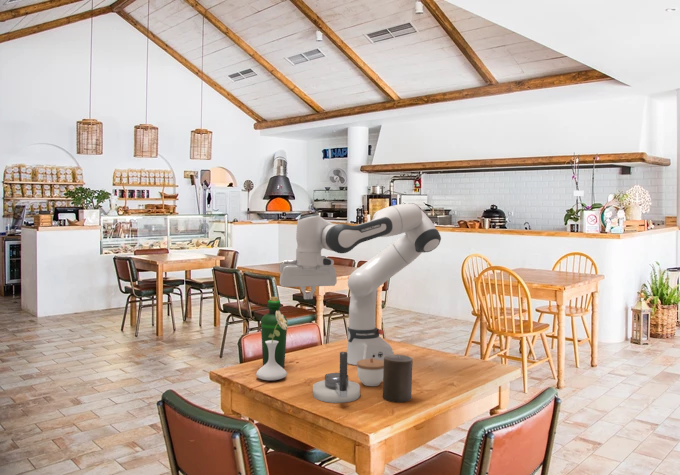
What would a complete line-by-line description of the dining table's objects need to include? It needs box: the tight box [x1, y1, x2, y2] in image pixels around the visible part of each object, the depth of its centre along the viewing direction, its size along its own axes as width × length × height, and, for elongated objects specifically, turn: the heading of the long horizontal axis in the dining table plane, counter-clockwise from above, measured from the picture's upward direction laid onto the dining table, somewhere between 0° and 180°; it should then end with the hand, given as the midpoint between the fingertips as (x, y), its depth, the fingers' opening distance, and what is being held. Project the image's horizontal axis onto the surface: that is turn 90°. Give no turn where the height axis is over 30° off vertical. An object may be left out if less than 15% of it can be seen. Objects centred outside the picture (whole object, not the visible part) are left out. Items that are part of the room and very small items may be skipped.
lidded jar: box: [356, 358, 384, 387], centre depth 210 cm, size 11×11×9 cm
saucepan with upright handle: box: [324, 351, 349, 397], centre depth 192 cm, size 17×8×14 cm, turn 10°
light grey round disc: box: [312, 379, 361, 404], centre depth 197 cm, size 16×16×3 cm
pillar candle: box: [382, 353, 413, 403], centre depth 195 cm, size 10×10×15 cm
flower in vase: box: [255, 310, 288, 381], centre depth 215 cm, size 13×11×25 cm
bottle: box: [260, 296, 288, 369], centre depth 229 cm, size 11×11×28 cm
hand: (308, 298), depth 206 cm, fingers closed
